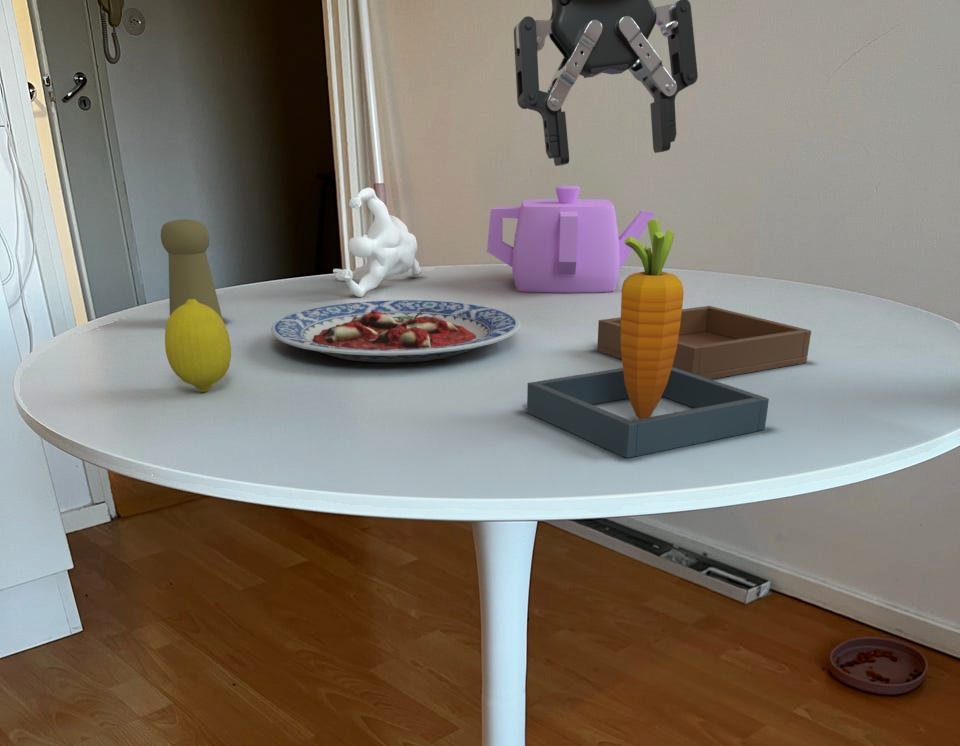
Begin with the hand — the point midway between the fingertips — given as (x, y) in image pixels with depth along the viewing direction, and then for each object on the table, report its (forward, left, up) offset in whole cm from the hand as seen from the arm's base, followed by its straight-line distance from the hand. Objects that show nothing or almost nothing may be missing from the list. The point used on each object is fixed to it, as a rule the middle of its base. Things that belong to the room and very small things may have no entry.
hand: (612, 158), depth 82 cm
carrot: (+3, +11, -19) cm, 22 cm away
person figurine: (-5, -55, -19) cm, 59 cm away
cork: (+23, -46, -19) cm, 55 cm away
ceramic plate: (+8, -24, -19) cm, 32 cm away
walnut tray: (-15, -4, -19) cm, 24 cm away
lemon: (+31, -16, -19) cm, 40 cm away
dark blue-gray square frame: (+3, +11, -19) cm, 22 cm away
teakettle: (-28, -45, -19) cm, 56 cm away
